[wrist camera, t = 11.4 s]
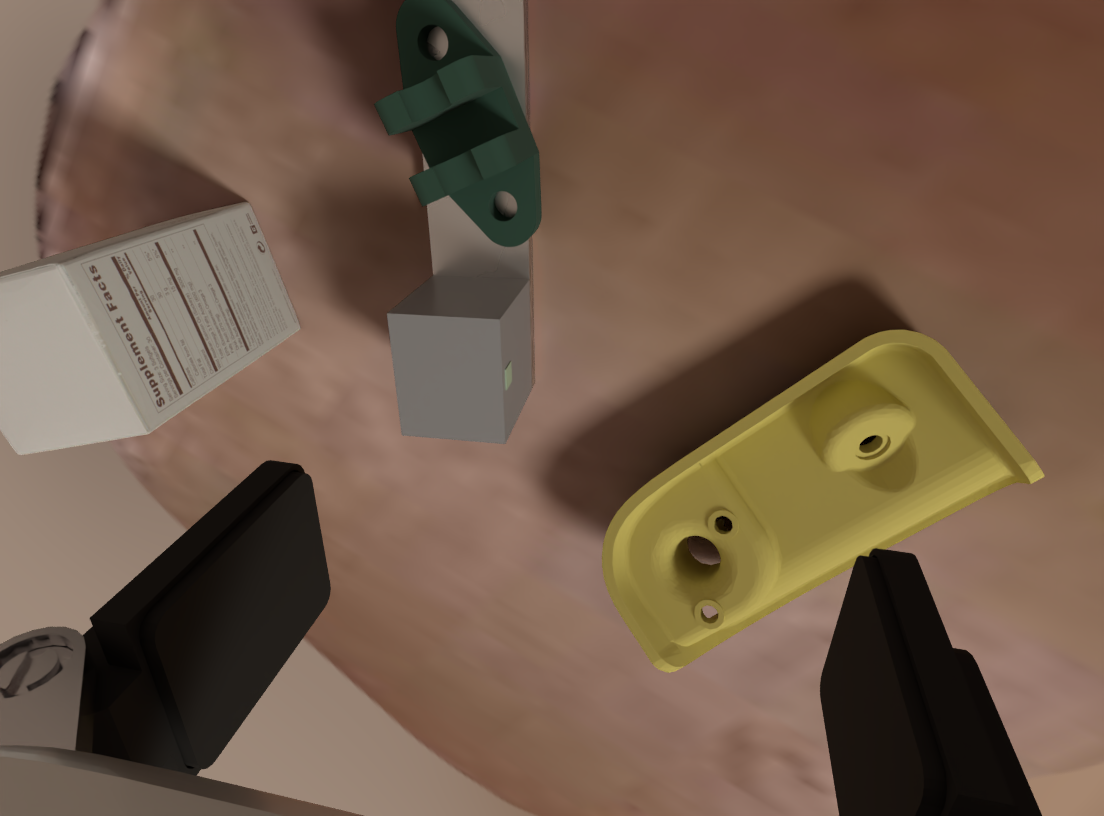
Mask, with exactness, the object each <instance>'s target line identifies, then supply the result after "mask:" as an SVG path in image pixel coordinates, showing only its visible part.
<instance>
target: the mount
mask: <svg viewBox="0 0 1104 816" xmlns="http://www.w3.org/2000/svg"><path fill="white" fill-rule="evenodd" d="M438 26H439V27H440V28H441V29H442V30H443V31H444V32H445V34H446V36H447V39H448V50H447V52H446V54H445V56H444V57H443V58H442V59H440V60H436V59H435V58H434V57H433V56H432V55H431V54H430V52H429V50H428V46H427V38H428V35H429V33H430V32H431V30H432V29H434V28H435V27H438ZM396 32H397V40H398V49H399V57H400V65H401V74H402V82H403V90H400V91H397V92H395V93H393V94H391V95H389V96H387V97H385V98H383V99H381V100H379V101H378V102H376V103H375V104H374V105H375V107H376V110H377V112H378V114H379V116H380V118H381V120H382V122H383V124H384V126H385V129H386V131H387V133H388V135H394V134H398V133H402V132H407V131H411V130H412V132H413V134H414V136H415V138H416V140H417V142H418V145H419V147H420V149H421V151H422V153H423V155H424V158H425V160H426V162H427V164H428V166H429V169H427V170H425V171H423V172H421V173H418V174H416V175H414V176H412V177H410V178H409V179H410V181H411V184H412V186H413V188H414V190H415V192H416V194H417V196H418V198H419V200H420V203H421V205H422V206H425V205H428V204H430V203H432V202H434V201H437V200H439V199H441V198H444V197H446V196H448V195H449V196H450V197H451V198H452V200H453V201H454V202H455V203H456V204H457V205H458V206H459V207H460V208H461V209H462V210H463V211H464V212H465V213H466V214H467V216H468V217H469V218H470V219H471V220H472V221H473V222H474V223H475V224H476V225H477V226H478V227H479V228H480V229H481V230H482V232H483V233H484V234H485V235H486V236H487V237H488V238H489V239H490V240H491V241H493V242H494V243H496V244H498V245H500V246H504V247H515V246H519V245H521V244H523V243H524V242H526V241H527V240H528V239H529V238H530V237H531V236H532V235H533V234H534V233H535V231H536V230H537V229H538V227H539V224H540V221H541V189H540V163H539V151H538V148H537V146H536V143H535V141H534V138H533V136H532V133H531V131H530V128H529V125H528V123H527V120H526V118H525V115H524V113H523V110H522V108H521V105H520V103H519V100H518V98H517V95H516V93H515V90H514V88H513V85H512V83H511V80H510V78H509V75H508V73H507V70H506V68H505V65H504V63H503V60H502V58H501V56H500V55H499V54H498V52H497V51H496V50H495V49H494V48H493V47H492V45H491V44H490V43H489V42H488V41H487V40H486V39H485V37H484V36H483V35H482V34H481V33H480V32H479V30H478V29H477V28H476V27H475V26H474V25H473V24H472V22H471V21H470V20H469V19H468V18H467V17H466V15H465V14H464V13H463V12H462V11H461V10H460V9H459V7H458V6H457V5H456V4H455V3H454V2H453V1H452V0H405V1H404V2H403V4H402V5H401V7H400V9H399V12H398V15H397V20H396ZM499 191H505V192H508V193H510V194H511V195H512V196H513V197H514V198H515V200H516V203H517V212H516V214H515V216H505V215H503V214H501V213H500V212H499V211H498V209H497V207H496V204H495V197H496V194H497V193H498V192H499Z"/></svg>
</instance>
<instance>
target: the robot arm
mask: <svg viewBox="0 0 1104 816" xmlns="http://www.w3.org/2000/svg"><path fill="white" fill-rule="evenodd" d="M330 590H331V587H330V580H329V574H328V568H327V563H326V557H325V551H324V546H323V540H322V534H321V529H320V523H319V517H318V512H317V506H316V500H315V494H314V489H313V483H312V479H311V477H310V475H308V474H306V473H305V472H304V469H303V468H302V467H301V466H300V465H298V464H293V463H286V462H279V461H272V460H270V461H266V462H264V463H263V464H261V465H260V466H259V467H258V468H257V469H256V470H255V471H253V472H252V473H251V474H250V475H249V476H248V477H247V478H246V479H245V480H243V481H242V482H241V483H240V484H239V485H238V486H237V487H236V488H234V489H233V490H232V491H231V492H230V493H229V494H228V495H227V496H226V497H224V498H223V499H222V500H221V501H220V502H219V503H218V504H217V505H215V506H214V507H213V508H212V509H211V510H210V511H209V512H208V513H207V514H205V515H204V516H203V517H202V518H201V519H200V520H199V521H198V522H196V523H195V524H194V525H193V526H192V527H191V528H190V529H189V530H188V531H186V532H185V533H184V534H183V535H182V536H181V537H180V538H179V539H178V540H176V541H175V542H174V543H173V544H172V545H171V546H170V547H169V548H167V549H166V550H165V551H164V552H163V553H162V554H161V555H160V556H158V557H157V558H156V559H155V560H154V561H153V562H152V563H151V564H150V565H148V566H147V567H146V568H145V569H144V570H143V571H142V572H141V573H139V574H138V575H137V576H136V577H135V578H134V579H133V580H132V581H131V582H129V583H128V584H127V585H126V586H125V587H124V588H123V589H122V590H121V591H119V592H118V593H117V594H116V595H115V596H114V597H113V598H112V599H110V600H109V601H108V602H107V603H106V604H105V605H104V606H103V607H102V608H100V609H99V610H98V611H97V612H96V613H95V614H94V615H93V616H91V617H90V620H91V622H92V625H93V627H92V628H90V629H89V630H88V631H87V632H86V633H85V634H84V635H83V636H82V635H81V634H80V633H79V632H78V631H77V630H74V629H71V628H67V627H46V628H41V629H36V630H32V631H29V632H27V633H23V634H21V635H18V636H15V637H13V638H11V639H9V640H7V641H5V642H4V643H2V644H0V816H363V815H359V814H354V813H351V812H346V811H343V810H339V809H334V808H330V807H326V806H321V805H318V804H313V803H309V802H305V801H301V800H297V799H292V798H288V797H284V796H279V795H275V794H271V793H267V792H263V791H258V790H254V789H250V788H246V787H242V786H238V785H233V784H229V783H225V782H221V781H216V780H212V779H208V778H204V777H200V776H196V775H197V774H198V773H199V771H200V770H201V769H206V768H208V767H209V766H211V765H212V764H213V763H214V762H215V760H216V759H217V758H218V756H219V755H220V754H221V752H222V751H223V749H224V748H225V747H226V745H227V744H228V742H229V741H230V740H231V738H232V737H233V735H234V734H235V732H236V731H237V730H238V728H239V727H240V726H241V724H242V723H243V721H244V720H245V719H246V717H247V716H248V714H249V713H250V712H251V710H252V708H253V707H254V706H255V705H256V703H257V702H258V700H259V699H260V698H261V696H262V695H263V693H264V692H265V691H266V689H267V688H268V686H269V685H270V684H271V682H272V681H273V679H274V678H275V676H276V675H277V673H278V672H279V671H280V669H281V668H282V667H283V665H284V664H285V662H286V661H287V660H288V658H289V657H290V655H291V654H292V653H293V651H294V650H295V648H296V647H297V646H298V644H299V643H300V641H301V640H302V639H303V637H304V636H305V634H306V633H307V632H308V630H309V629H310V627H311V626H312V625H313V623H314V622H315V620H316V619H317V618H318V616H319V615H320V613H321V612H322V611H323V609H324V608H325V606H326V604H327V602H328V600H329V596H330ZM820 697H821V704H822V710H823V717H824V723H825V729H826V735H827V741H828V748H829V754H830V760H831V766H832V773H833V779H834V785H835V791H836V798H837V804H838V810H839V816H1042V814H1041V812H1040V810H1039V807H1038V805H1037V803H1036V800H1035V798H1034V796H1033V793H1032V791H1031V789H1030V786H1029V784H1028V782H1027V779H1026V777H1025V774H1024V772H1023V770H1022V767H1021V765H1020V763H1019V760H1018V758H1017V756H1016V753H1015V751H1014V749H1013V746H1012V744H1011V742H1010V739H1009V737H1008V735H1007V732H1006V730H1005V728H1004V725H1003V723H1002V721H1001V718H1000V716H999V714H998V711H997V709H996V707H995V704H994V702H993V700H992V697H991V695H990V693H989V690H988V688H987V686H986V683H985V681H984V679H983V676H982V674H981V672H980V669H979V667H978V665H977V663H976V661H975V659H974V658H973V656H972V655H971V654H970V653H969V652H968V651H967V650H962V649H956V648H952V645H951V643H950V640H949V638H948V635H947V633H946V630H945V627H944V625H943V622H942V620H941V617H940V615H939V612H938V610H937V607H936V605H935V602H934V600H933V597H932V595H931V592H930V590H929V587H928V585H927V582H926V580H925V577H924V575H923V572H922V570H921V567H920V565H919V562H918V560H917V558H916V556H915V555H914V554H912V553H905V552H898V551H892V550H885V549H878V548H874V549H872V551H871V552H870V554H869V556H861V555H860V556H858V557H857V558H856V561H855V564H854V567H853V571H852V574H851V577H850V581H849V584H848V587H847V591H846V594H845V597H844V601H843V604H842V608H841V611H840V614H839V618H838V621H837V624H836V628H835V631H834V634H833V638H832V641H831V645H830V648H829V651H828V655H827V658H826V661H825V665H824V668H823V672H822V676H821V682H820Z"/></svg>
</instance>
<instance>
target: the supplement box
mask: <svg viewBox="0 0 1104 816" xmlns="http://www.w3.org/2000/svg"><path fill="white" fill-rule="evenodd" d="M298 330H300V325H299V321H298V319H297V316H296V314H295V311H294V308H293V306H292V304H291V301H290V299H289V297H288V294H287V291H286V289H285V287H284V284H283V282H282V279H281V277H280V274H279V272H278V270H277V267H276V265H275V262H274V260H273V258H272V255H271V253H270V250H269V248H268V245H267V243H266V240H265V238H264V236H263V233H262V231H261V229H260V226H259V224H258V222H257V219H256V217H255V215H254V212H253V210H252V208H251V206H250V204H249V203H248V202H242V203H237V204H233V205H228V206H224V207H219V208H215V209H210V210H206V211H202V212H198V213H194V214H190V215H186V216H182V217H178V218H175V219H171V220H168V221H164V222H161V223H157V224H154V225H151V226H147V227H144V228H141V229H138V230H135V231H131V232H128V233H125V234H122V235H119V236H116V237H112V238H109V239H106V240H102V241H99V242H96V243H93V244H89V245H86V246H83V247H79V248H76V249H73V250H70V251H66V252H63V253H60V254H56V255H53V256H50V257H47V258H44V259H40V260H37V261H34V262H31V263H28V264H25V265H21V266H18V267H15V268H12V269H8V270H5V271H2V272H0V430H1V432H2V434H3V435H4V436H5V438H6V439H7V441H8V442H9V444H10V445H11V446H12V447H13V449H14V450H15V452H16V453H17V454H19V455H25V454H31V453H36V452H44V451H50V450H56V449H62V448H68V447H75V446H81V445H87V444H92V443H98V442H105V441H110V440H116V439H122V438H127V437H133V436H139V435H146V434H149V433H151V432H152V431H153V430H155V429H156V428H158V427H159V426H160V425H162V424H163V423H165V422H166V421H168V420H169V419H171V418H172V417H174V416H175V415H176V414H178V413H179V412H181V411H182V410H184V409H185V408H187V407H188V406H190V405H191V404H192V403H194V402H195V401H197V400H198V399H200V398H201V397H203V396H204V395H206V394H207V393H209V392H210V391H212V390H213V389H215V388H216V387H218V386H219V385H221V384H222V383H224V382H225V381H226V380H228V379H229V378H231V377H232V376H234V375H235V374H236V373H238V372H239V371H241V370H242V369H244V368H245V367H247V366H248V365H249V364H251V363H252V362H254V361H255V360H257V359H258V358H260V357H261V356H262V355H264V354H265V353H267V352H268V351H270V350H271V349H273V348H274V347H275V346H277V345H278V344H280V343H281V342H283V341H284V340H285V339H287V338H288V337H290V336H291V335H293V334H294V333H295V332H297V331H298Z"/></svg>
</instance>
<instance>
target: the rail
mask: <svg viewBox="0 0 1104 816" xmlns="http://www.w3.org/2000/svg"><path fill="white" fill-rule="evenodd" d="M452 1H453V2H454V3H455V4H456V5H457V6H458V7H459V9H460V10H461V11H462V12H463V13H464V14H465V15H466V17H467V18H468V19H469V20H470V21H471V22H472V24H473V25H474V26H475V27H476V28H477V29H478V30H479V32H480V33H481V34H482V35H483V36H484V37H485V39H486V40H487V41H488V42H489V43H490V44H491V45H492V47H493V48H494V49H495V50H496V51H497V52H498V54H499V55H500V56H501V58H502V60H503V63H504V65H505V68H506V70H507V73H508V75H509V78H510V80H511V83H512V85H513V88H514V90H515V93H516V95H517V98H518V100H519V103H520V105H521V108H522V110H523V113H524V115H525V118H526V120H527V123H528V125H529V128H530V115H529V65H528V16H527V0H452ZM427 46H428V50H429V52H430V54H431V55H432V56H433V57H434V58H435V59H436V60H440V59H442V58H443V57H444V56H445V54H446V52H447V50H448V39H447V36H446V34H445V32H444V31H443V30H442V29H441V28H440V27H439V26H438V27H435V28H434V29H432V30H431V32H430V33H429V35H428V38H427ZM422 154H423V153H422ZM423 166H424V171H425V170H427V169H429V166H428V164H427V162H426V160H425V158H424V155H423ZM495 204H496V207H497V209H498V211H499V212H500V213H501V214H503V215H505V216H515V214H516V212H517V203H516V200H515V198H514V197H513V196H512V195H511V194H510V193H508V192H505V191H499V192H498V193H497V194H496V197H495ZM427 211H428V222H429V234H430V245H431V256H432V268H433V275H438V276H461V277H483V278H506V279H529V281H530V326H531V370H532V388H533V386H534V384H535V363H534V313H533V264H532V236H531V237H530V238H529V239H528V240H527V241H526V242H524V243H523V244H521V245H519V246H515V247H504V246H500V245H498V244H496V243H494V242H493V241H491V240H490V239H489V238H488V237H487V236H486V235H485V234H484V233H483V232H482V230H481V229H480V228H479V227H478V226H477V225H476V224H475V223H474V222H473V221H472V220H471V219H470V218H469V217H468V216H467V214H466V213H465V212H464V211H463V210H462V209H461V208H460V207H459V206H458V205H457V204H456V203H455V202H454V201H453V200H452V198H451V197H450V196H449V195H448V196H446V197H444V198H441V199H439V200H437V201H434V202H432V203H430V204H428V205H427Z"/></svg>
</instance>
